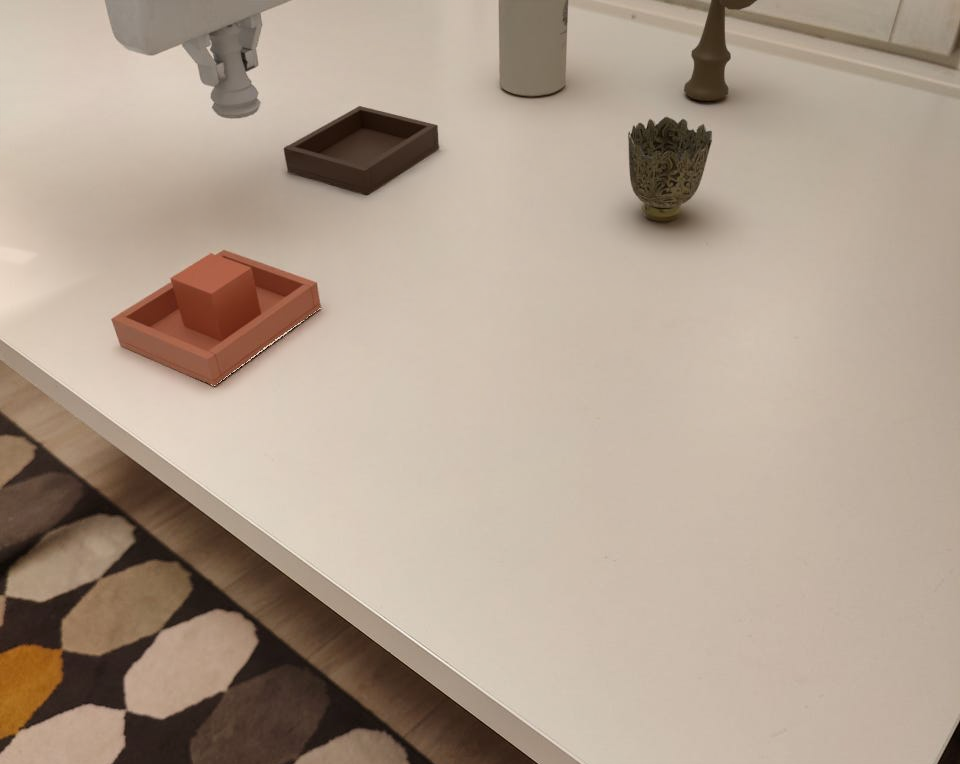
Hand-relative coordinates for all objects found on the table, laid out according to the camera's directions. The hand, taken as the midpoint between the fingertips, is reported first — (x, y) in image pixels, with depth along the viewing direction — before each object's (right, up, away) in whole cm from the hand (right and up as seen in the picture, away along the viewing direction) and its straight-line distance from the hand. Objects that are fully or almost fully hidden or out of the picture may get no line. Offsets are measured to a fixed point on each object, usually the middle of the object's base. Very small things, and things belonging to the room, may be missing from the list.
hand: (230, 75), depth 85 cm
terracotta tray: (+1, -24, -7) cm, 25 cm away
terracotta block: (+1, -23, -8) cm, 25 cm away
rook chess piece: (0, -2, +2) cm, 3 cm away
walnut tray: (+10, -2, +15) cm, 18 cm away
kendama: (+49, +8, +26) cm, 56 cm away
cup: (+40, -11, +5) cm, 42 cm away
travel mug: (+29, +11, +29) cm, 43 cm away
